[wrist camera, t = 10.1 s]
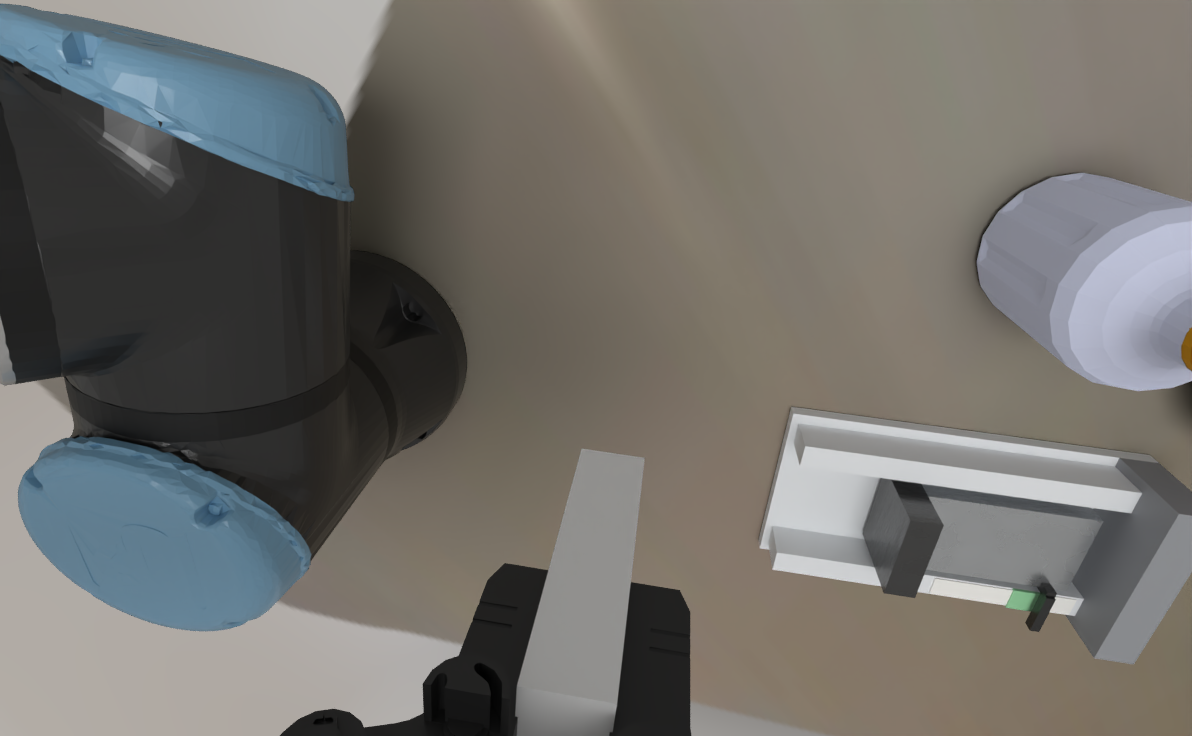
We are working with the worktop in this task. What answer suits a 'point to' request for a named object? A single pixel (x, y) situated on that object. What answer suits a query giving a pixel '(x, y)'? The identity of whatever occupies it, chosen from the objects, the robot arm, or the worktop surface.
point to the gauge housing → (998, 466)
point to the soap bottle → (1097, 277)
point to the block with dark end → (976, 539)
